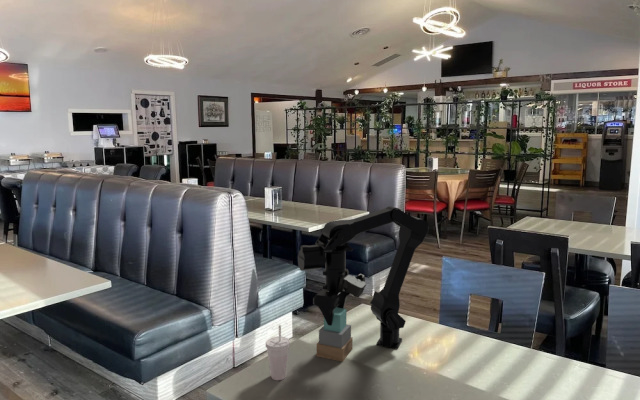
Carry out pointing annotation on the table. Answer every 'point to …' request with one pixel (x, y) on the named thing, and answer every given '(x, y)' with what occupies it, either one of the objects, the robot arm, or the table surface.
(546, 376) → the table surface
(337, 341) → the tower top
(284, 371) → the smoothie
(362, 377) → the table surface
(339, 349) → the tower base
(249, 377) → the table surface
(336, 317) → the teal cube
